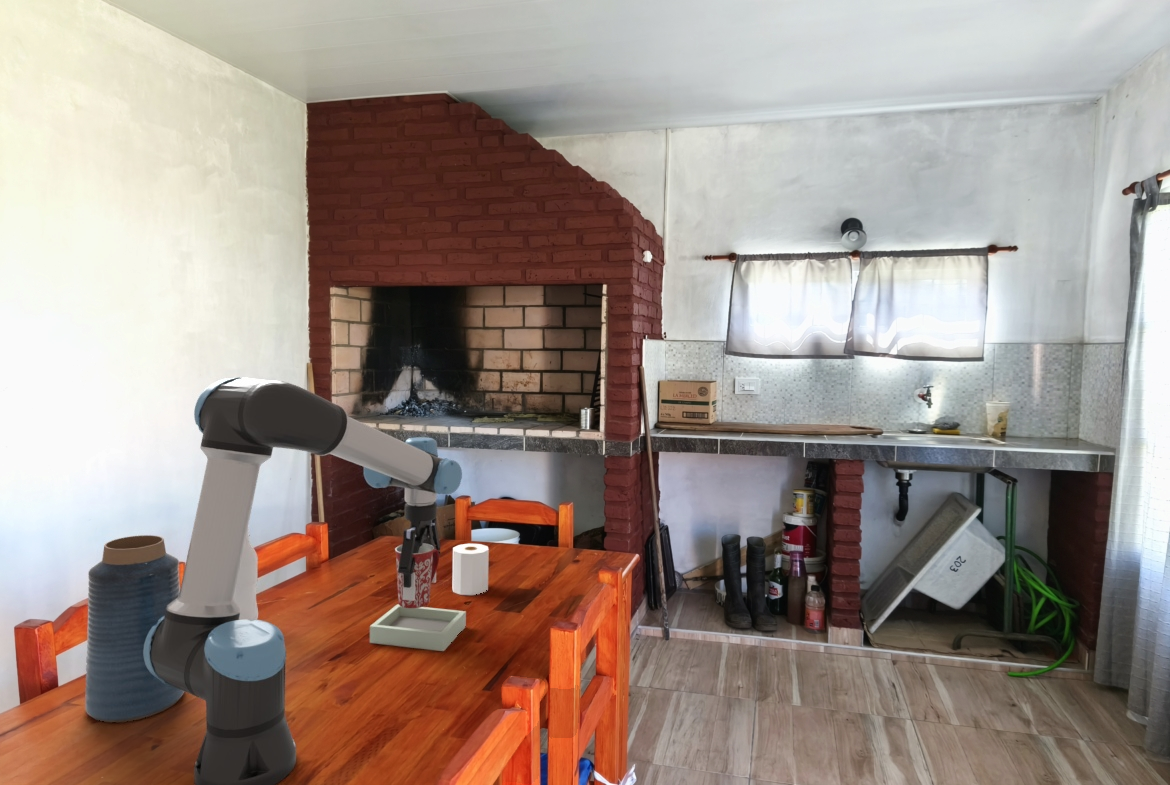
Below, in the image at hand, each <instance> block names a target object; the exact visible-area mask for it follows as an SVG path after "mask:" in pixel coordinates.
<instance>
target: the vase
mask: <svg viewBox="0 0 1170 785" xmlns="http://www.w3.org/2000/svg"><path fill="white" fill-rule="evenodd" d="M165 544H166V543H165V539H164V538H163V537H162V536H159V535H151V534H149V535H148V534H145V535H132V536H124V537H121V538H116V539H113V540H109V541H108V542H106V543H104V545H103V551H102V559H101V561H99V562H98V563H97V564H95V565H94V566H92V567H91V568H90V569H89V570H88V573H87V574H88V588H87V589H88V595H87V596H88V600H87V602H88V604H87V608H88V609H87V615H88V616H87V630H86V631H87V634H86V635H87V636H86V637H87V639H86V641H87V645H86V649H87V650H86V659H85V660H86V661H85V662H86V664H85V665H86V666H85V672H86V674H85V698H84V699H85V700H84V701H85V702H84V703H85V704H84V709H85V712H86V713H87V715H88V716H90V717H91V718H93V719H94V720H96V721H99V720H100V721H99V722H102V721H104V723H112V722H116V723H126V722H127V721H128V722H132V721H133V720H134V721H138V720H141V719H146V718H149V717H152V716H155V715H157V714H160V713H161V712H164V711H166V710H168V709H169V708H171V707H172V706H174V705H175V704H177V702H178V701H179V700H180V699H181V697H183V695H185V694H184V693H185V691H183V690H180V689H178V688H176V687H171V686H168V685H166V684H164V683H163V682H162V681H161V680H159V679H158V678H156V677H155V676H153V675H152V674H151V673H150V671H149V670H148V669H147V667H146V664H145V661H144V655H143V650H144V643H145V640H146V637H147V635H148V633H149V631H150V630H151V628H152V627H153V626H155V625H156V624H157V623H158V620H159V619H160V618H162V617H163V616H165V612H166V608H167V605H168V604H170V603H171V602H172V601H174V600H175V599H176V598H178V596H179V593H180V589H181V585H180V584H181V583H180V568H179V567H180V562H179V559H178V558H177V557H175V556H173V555H171V554H169V553H167V550H166V545H165ZM145 717H146V718H145ZM134 721H133V722H134Z"/></svg>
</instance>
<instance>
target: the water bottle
mask: <svg viewBox="0 0 1170 785" xmlns="http://www.w3.org/2000/svg"><path fill="white" fill-rule="evenodd" d="M258 561H259V557H258V554H257V551H256V550H255V548H254V547H253V545H252V544H251V541H250V532H249V528H248V529H247V534H246V539H245V544H244V549H243V554H242V559H241V564H240V569H239V574H238V579H237V584H236V589H235V594H234V601H235V602H236V603H237V605H238V606H239V607H240V609H241V612H240V616H239V620H243V619H249V620H250V621H254V620H258V618H259V609H258V604H257V586H258Z"/></svg>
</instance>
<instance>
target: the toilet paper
mask: <svg viewBox="0 0 1170 785" xmlns="http://www.w3.org/2000/svg"><path fill="white" fill-rule="evenodd" d="M489 553H490V549H489V546H488V545H485V544H482V543H464V544H458V545H456V546H454V547H452V579H451V580H452V582H451V583H452V584H451V585H452V588H451V589H452V592H453V593H455V594H457V595H460V596H476V594H477V595H480V593H482V594H484V593H486V592H487V591H488V590H489V556H490V554H489ZM486 590H487V591H486ZM483 592H484V593H483Z"/></svg>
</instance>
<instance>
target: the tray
mask: <svg viewBox="0 0 1170 785" xmlns="http://www.w3.org/2000/svg"><path fill="white" fill-rule="evenodd" d="M466 621H467V611H466V610H465V611H463V610H457V609H445V608H436V607H428V606H427V607H426V606H423V607H420V608H404V607H401V606H400V605H399V603H398V604H396V605H394V606H393V607H392V608H391V609H390V610H388V611H387V612H386V613H384V614H383V615H382V616H380V617H379V618H377V620H376V621H375V622H373V623H372V624H370V626H369V644H378V645H385V646H386V645H387V646H395V647H403V648H411V649H413V648H414V649H419V650H421V649H422V650H423V649H424V650H429V651H439V652H444V651H446V649H447V648H448V647H449V646H450V645H451V644H452V643H453V642H454V641H455V639H456V638H457V637H458V636H459V635H460V634H461V633H462V632H463V631H464V629H465V628H466V627H467V625H466V624H467V623H466ZM465 626H466V627H465ZM461 631H462V632H461ZM460 632H461V633H460ZM459 633H460V634H459ZM458 634H459V635H458ZM457 635H458V636H457ZM451 642H452V643H451Z"/></svg>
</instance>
